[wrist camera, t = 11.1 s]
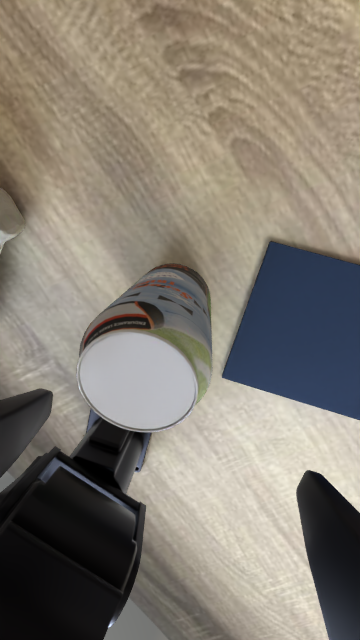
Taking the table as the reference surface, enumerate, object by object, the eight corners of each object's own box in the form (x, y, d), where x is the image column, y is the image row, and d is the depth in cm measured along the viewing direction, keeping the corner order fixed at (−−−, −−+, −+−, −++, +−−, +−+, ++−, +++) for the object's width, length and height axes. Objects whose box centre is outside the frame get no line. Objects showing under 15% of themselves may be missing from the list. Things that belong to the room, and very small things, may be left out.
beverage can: (199, 253, 19) (180, 242, 7) (222, 337, 20) (237, 439, 9) (129, 276, 20) (16, 297, 8) (155, 353, 21) (90, 462, 10)
